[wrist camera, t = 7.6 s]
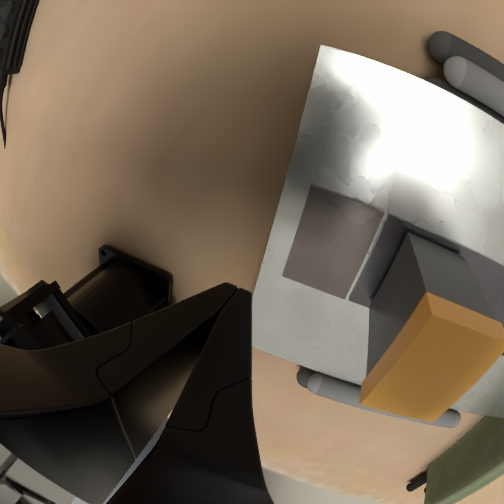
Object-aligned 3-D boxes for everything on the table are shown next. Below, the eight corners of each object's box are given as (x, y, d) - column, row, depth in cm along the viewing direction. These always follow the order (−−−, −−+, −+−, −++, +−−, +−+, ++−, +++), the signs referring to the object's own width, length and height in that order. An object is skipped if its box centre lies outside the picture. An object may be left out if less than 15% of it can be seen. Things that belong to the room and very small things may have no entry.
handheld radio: (558, 347, 12) (421, 480, 24) (536, 342, 13) (401, 478, 25) (582, 410, 6) (415, 523, 19) (560, 411, 7) (393, 523, 20)
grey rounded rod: (296, 370, 20) (286, 401, 18) (316, 334, 18) (307, 366, 16) (445, 413, 18) (447, 441, 15) (476, 384, 15) (481, 413, 13)
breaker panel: (250, 321, 19) (237, 344, 17) (325, 53, 11) (320, 43, 9) (512, 402, 15) (516, 422, 13) (621, 244, 7) (636, 259, 5)
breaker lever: (366, 307, 13) (359, 404, 8) (406, 228, 11) (432, 314, 6) (422, 327, 12) (432, 422, 8) (466, 256, 10) (510, 344, 6)
